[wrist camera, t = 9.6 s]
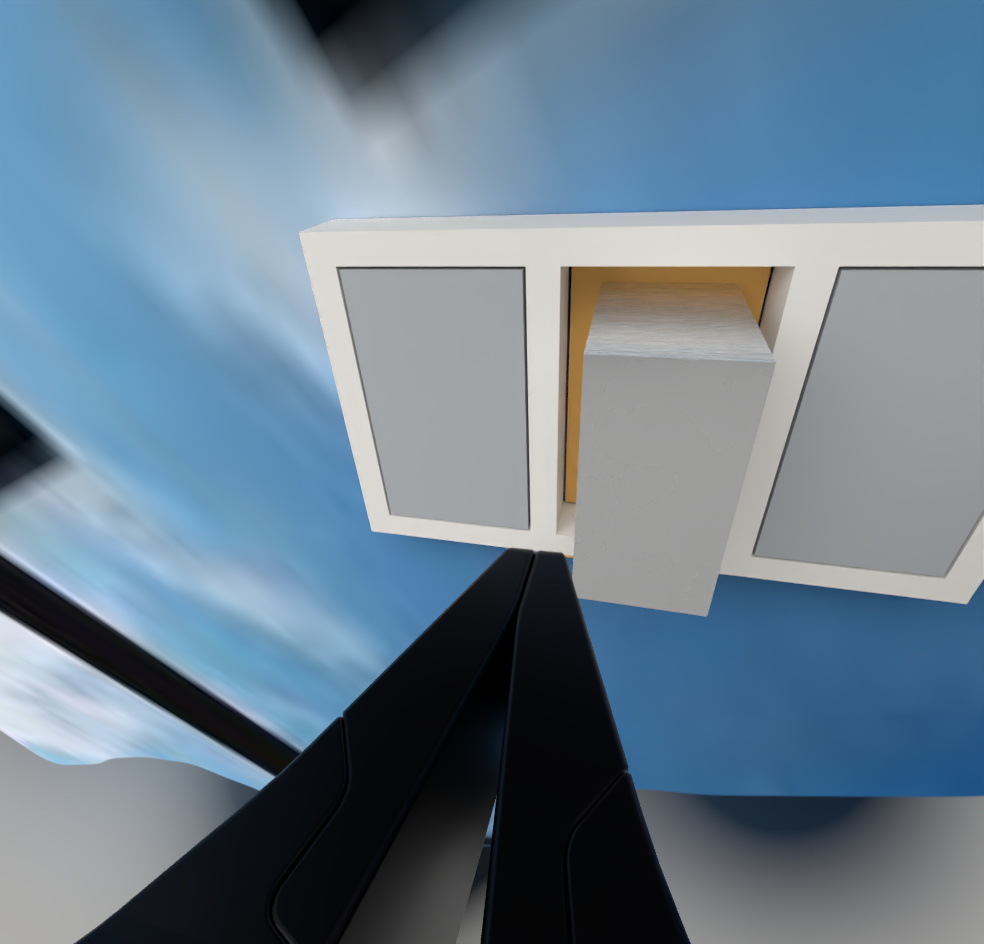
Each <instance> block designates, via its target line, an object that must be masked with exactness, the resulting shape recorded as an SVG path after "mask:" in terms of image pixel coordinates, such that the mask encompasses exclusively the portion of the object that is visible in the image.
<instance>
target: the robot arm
mask: <svg viewBox="0 0 984 944" xmlns="http://www.w3.org/2000/svg"><path fill="white" fill-rule="evenodd" d="M496 796H497V797H496ZM495 799H496V806H495V815H494V825H493V834H492V843H491V853H490V862H489V871H488V880H487V889H486V899H485V908H484V916H483V926H482V935H481V944H691V943H690V941H689V938H688V936H687V934H686V931H685V929H684V926H683V923H682V921H681V918H680V916H679V913H678V911H677V908H676V906H675V903H674V900H673V898H672V895H671V893H670V890H669V887H668V885H667V882H666V880H665V877H664V875H663V872H662V869H661V867H660V864H659V861H658V858H657V855H656V852H655V849H654V846H653V843H652V840H651V837H650V834H649V831H648V828H647V825H646V822H645V819H644V816H643V813H642V810H641V807H640V803H639V800H638V797H637V793H636V790H635V787H634V783H633V780H632V777H631V775H630V774H629V773H628V764H627V761H626V758H625V754H624V751H623V748H622V744H621V741H620V738H619V734H618V731H617V727H616V724H615V721H614V717H613V714H612V711H611V707H610V704H609V701H608V697H607V694H606V691H605V687H604V684H603V681H602V677H601V674H600V671H599V667H598V664H597V660H596V657H595V654H594V650H593V647H592V644H591V640H590V637H589V634H588V630H587V627H586V624H585V620H584V617H583V614H582V610H581V607H580V604H579V600H578V597H577V594H576V590H575V587H574V583H573V580H572V577H571V573H570V570H569V567H568V563H567V560H566V557H565V555H564V554H563V553H561V552H553V551H543V550H540V551H538V552H537V553H535V551H533V550H531V549H522V548H508V549H507V550H505V551H504V552H503V553H502V554H501V555H500V556H499V557H498V558H497V559H496V560H495V561H494V562H493V563H492V564H491V565H490V566H489V567H488V568H487V569H486V570H485V571H484V572H483V573H482V574H481V575H480V576H479V577H478V578H477V579H476V580H475V581H474V582H473V583H472V584H471V585H470V586H469V587H468V588H467V589H466V590H465V591H464V592H463V593H462V594H461V595H460V596H459V597H458V598H457V599H456V600H455V601H454V602H453V603H452V604H451V605H450V606H449V607H448V608H447V609H446V610H445V611H444V612H443V613H442V614H441V615H440V616H439V617H438V618H437V619H436V620H435V621H434V622H433V623H432V624H431V625H430V626H429V627H428V628H427V629H426V630H425V631H424V632H423V633H422V634H421V635H420V636H419V637H418V638H417V639H416V640H415V641H414V642H413V643H412V644H411V645H410V646H409V647H408V648H407V649H406V650H405V651H404V652H403V653H402V654H401V655H400V656H399V657H398V658H397V659H396V660H395V661H394V662H393V663H392V664H391V665H390V666H389V667H388V668H387V669H386V670H385V671H384V672H383V673H382V674H381V675H380V676H379V677H378V678H377V679H376V680H375V681H374V682H373V683H372V684H371V685H370V686H369V687H368V688H367V689H366V690H365V691H364V692H363V693H362V694H361V695H360V696H359V697H358V698H357V699H356V700H355V701H354V702H353V703H352V704H351V705H350V706H349V707H348V708H347V709H346V710H345V711H344V712H343V718H342V717H337V718H336V719H335V720H334V721H333V722H332V723H331V724H330V725H329V726H328V727H327V728H326V729H325V730H324V731H323V732H322V733H321V734H320V735H319V736H318V737H317V738H316V739H315V740H314V741H313V742H312V743H311V744H310V745H309V746H308V747H307V748H306V749H305V750H304V751H303V752H302V753H301V754H300V755H298V756H297V757H296V758H295V759H294V760H293V761H292V762H291V763H290V764H289V765H288V766H287V767H286V768H285V769H284V770H283V771H282V772H281V773H280V774H278V775H277V776H276V777H275V778H274V779H273V780H272V781H271V782H269V783H268V784H267V785H266V786H265V787H264V788H262V789H261V790H260V791H259V792H258V793H257V794H256V795H254V796H253V797H252V798H251V799H250V800H249V801H248V802H246V803H245V804H244V805H243V806H242V807H241V808H240V809H238V810H237V811H236V812H235V813H234V814H233V815H231V816H230V817H229V818H228V819H227V820H226V821H224V822H223V823H222V824H221V825H219V826H218V827H217V828H216V829H215V830H214V831H212V832H211V833H210V834H209V835H208V836H206V837H205V838H204V839H203V840H202V841H200V842H199V843H198V844H197V845H196V846H195V847H193V848H192V849H191V850H190V851H188V852H187V853H186V854H185V855H184V856H182V858H180V859H179V860H178V861H176V862H175V863H174V864H173V865H172V866H170V867H169V868H168V869H167V870H166V871H164V872H163V873H162V874H161V875H160V876H159V877H158V878H156V879H155V880H154V881H153V882H151V883H150V884H149V885H148V886H147V887H145V888H144V889H143V890H142V891H141V892H139V893H138V894H137V895H136V896H135V897H133V898H132V899H131V900H130V901H129V902H127V903H126V904H125V905H124V906H123V907H122V908H120V909H119V910H118V911H117V912H115V913H114V914H113V915H112V916H110V917H109V918H108V919H107V920H105V921H104V922H103V923H102V924H100V925H99V926H98V927H96V928H95V929H94V930H92V931H91V932H90V933H88V934H87V935H85V936H84V937H82V938H81V939H80V940H78V941H77V942H76V943H74V944H456V940H457V937H458V933H459V929H460V926H461V922H462V919H463V915H464V911H465V907H466V904H467V901H468V897H469V893H470V890H471V886H472V882H473V879H474V875H475V872H476V868H477V864H478V861H479V857H480V854H481V850H482V846H483V843H484V839H485V835H486V832H487V828H488V825H489V821H490V817H491V814H492V810H493V806H494V803H495Z"/></svg>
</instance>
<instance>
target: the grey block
mask: <svg viewBox="0 0 984 944" xmlns="http://www.w3.org/2000/svg"><path fill="white" fill-rule="evenodd" d="M775 365H776V361H775V359H774V357H773V355H772V353H771V351H770V349H769V347H768V345H767V343H766V341H765V339H764V337H763V335H762V332H761V330H760V328H759V326H758V324H757V322H756V320H755V318H754V316H753V314H752V312H751V310H750V308H749V306H748V304H747V302H746V300H745V298H744V296H743V294H742V292H741V290H740V288H739V286H738V284H737V283H675V282H602V283H601V287H600V291H599V295H598V299H597V303H596V307H595V311H594V315H593V319H592V323H591V327H590V331H589V335H588V339H587V343H586V347H585V351H584V357H583V376H582V396H581V416H580V436H579V456H578V475H577V495H576V515H575V535H574V555H573V574H572V580H573V583H574V587H575V590H576V594H577V597H578V598H582V599H589V600H596V601H603V602H609V603H616V604H623V605H630V606H637V607H644V608H651V609H658V610H665V611H672V612H679V613H686V614H693V615H700V616H706V617H707V615H708V611H709V608H710V604H711V600H712V597H713V593H714V589H715V586H716V582H717V578H718V575H719V571H720V567H721V564H722V560H723V556H724V553H725V549H726V545H727V542H728V538H729V534H730V531H731V527H732V523H733V520H734V516H735V512H736V508H737V505H738V501H739V497H740V494H741V490H742V486H743V483H744V479H745V475H746V472H747V468H748V464H749V461H750V457H751V453H752V450H753V446H754V442H755V439H756V435H757V431H758V428H759V424H760V420H761V417H762V413H763V409H764V406H765V402H766V398H767V395H768V391H769V387H770V384H771V380H772V376H773V373H774V369H775Z"/></svg>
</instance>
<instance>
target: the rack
mask: <svg viewBox="0 0 984 944" xmlns="http://www.w3.org/2000/svg"><path fill="white" fill-rule="evenodd" d="M299 236H300V240H301V244H302V248H303V252H304V256H305V260H306V264H307V269H308V273H309V277H310V281H311V285H312V289H313V293H314V297H315V301H316V305H317V309H318V313H319V317H320V322H321V326H322V330H323V334H324V338H325V342H326V346H327V350H328V354H329V358H330V362H331V366H332V370H333V375H334V379H335V383H336V387H337V391H338V395H339V399H340V403H341V407H342V411H343V415H344V419H345V424H346V428H347V432H348V436H349V440H350V444H351V448H352V452H353V456H354V460H355V464H356V468H357V472H358V477H359V481H360V485H361V489H362V493H363V497H364V501H365V505H366V509H367V513H368V517H369V521H370V526H371V530H372V531H375V532H383V533H391V534H399V535H408V536H416V537H424V538H432V539H440V540H448V541H456V542H465V543H473V544H481V545H489V546H497V547H505V548H522V549H531V550H533V551H540V550H543V551H553V552H561V553H563V554H564V555H565V557H570V558H573V555H574V535H575V515H576V495H577V475H578V456H579V436H580V416H581V396H582V376H583V357H584V351H585V347H586V343H587V339H588V335H589V331H590V327H591V323H592V319H593V315H594V311H595V307H596V303H597V299H598V295H599V291H600V287H601V283H602V282H675V283H737V284H738V286H739V288H740V290H741V292H742V294H743V296H744V298H745V300H746V302H747V304H748V306H749V308H750V310H751V312H752V314H753V316H754V318H755V320H756V322H757V324H758V323H759V318H760V314H761V310H762V305H763V301H764V297H765V293H766V288H767V284H768V280H769V276H770V271H771V267H772V266H774V267H773V271H772V276H771V280H770V284H769V288H768V293H767V297H766V301H765V305H764V309H763V314H762V318H761V322H760V326H759V328H760V330H761V332H762V335H763V337H764V339H765V341H766V343H767V345H768V347H769V349H770V351H771V353H772V355H773V357H774V359H775V361H776V365H775V369H774V373H773V376H772V380H771V384H770V387H769V391H768V395H767V398H766V402H765V406H764V409H763V413H762V417H761V420H760V424H759V428H758V431H757V435H756V439H755V442H754V446H753V450H752V453H751V457H750V461H749V464H748V468H747V472H746V475H745V479H744V483H743V486H742V490H741V494H740V497H739V501H738V505H737V508H736V512H735V516H734V520H733V523H732V527H731V531H730V534H729V538H728V542H727V545H726V549H725V553H724V556H723V560H722V564H721V567H720V571H719V574H725V575H733V576H741V577H749V578H758V579H766V580H774V581H782V582H790V583H798V584H806V585H815V586H823V587H831V588H839V589H847V590H855V591H863V592H872V593H880V594H888V595H896V596H904V597H912V598H920V599H928V600H937V601H945V602H953V603H961V604H967V603H968V601H969V600H970V598H971V597H972V595H973V594H974V592H975V591H976V589H977V588H978V586H979V585H980V584H981V582H982V581H983V579H984V205H943V206H899V207H854V208H810V209H765V210H721V211H677V212H632V213H588V214H543V215H499V216H455V217H410V218H366V219H332V220H330V221H327V222H324V223H322V224H319V225H316V226H314V227H311V228H308V229H306V230H303V231H301V232H299ZM569 266H572V275H571V310H570V346H569V381H568V417H567V452H566V488H565V501H563V491H564V452H565V413H566V374H567V335H568V296H569Z"/></svg>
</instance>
